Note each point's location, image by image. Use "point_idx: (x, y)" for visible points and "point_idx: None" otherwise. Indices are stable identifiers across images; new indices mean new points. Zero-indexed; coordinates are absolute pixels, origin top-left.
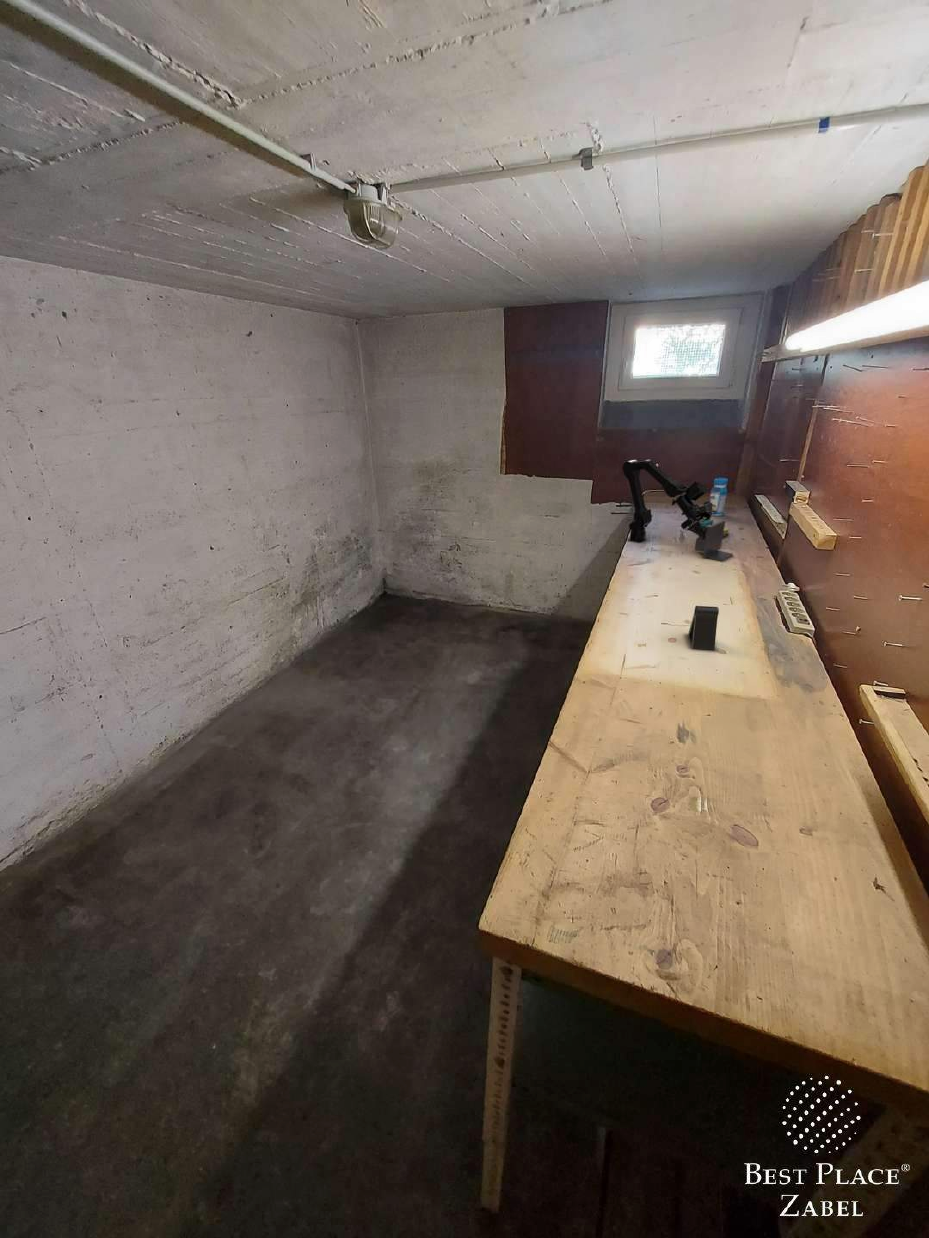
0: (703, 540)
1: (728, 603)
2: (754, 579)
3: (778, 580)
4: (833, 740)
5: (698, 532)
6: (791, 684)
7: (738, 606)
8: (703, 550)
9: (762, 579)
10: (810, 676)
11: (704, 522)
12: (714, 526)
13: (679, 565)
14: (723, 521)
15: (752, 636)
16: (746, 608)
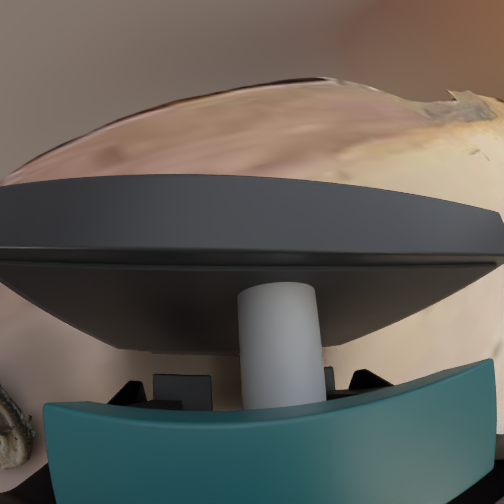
0: (332, 382)
1: (481, 154)
2: (365, 122)
3: (319, 87)
4: (494, 102)
5: None
6: (492, 110)
7: (474, 141)
8: (360, 336)
9: (347, 109)
10: (478, 99)
11: (477, 426)
12: (428, 202)
13: (465, 355)
14: (10, 192)
15: (490, 127)
16: (467, 132)
